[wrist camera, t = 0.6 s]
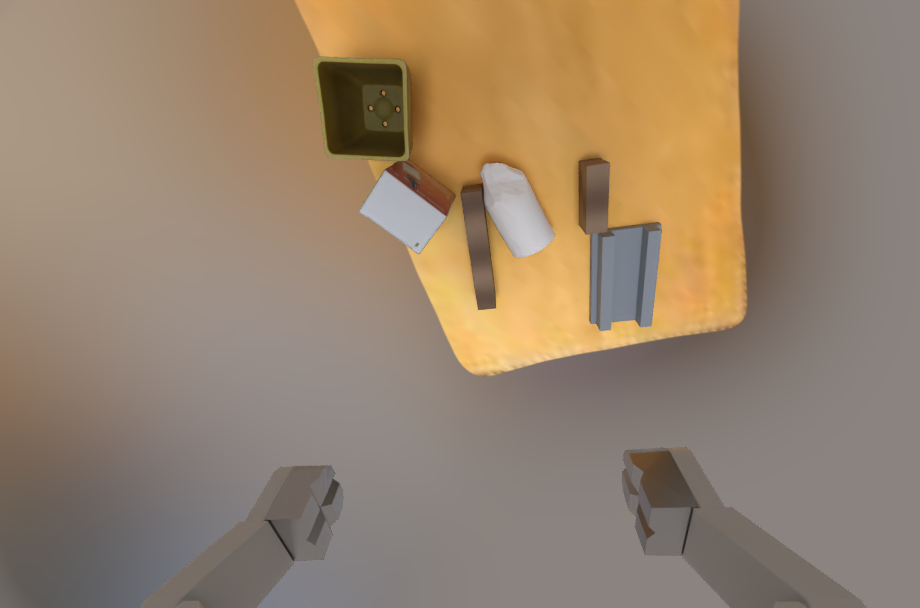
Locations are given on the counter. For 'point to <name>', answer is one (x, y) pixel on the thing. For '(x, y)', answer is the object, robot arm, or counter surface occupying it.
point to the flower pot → (364, 107)
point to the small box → (408, 204)
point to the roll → (515, 209)
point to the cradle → (624, 274)
